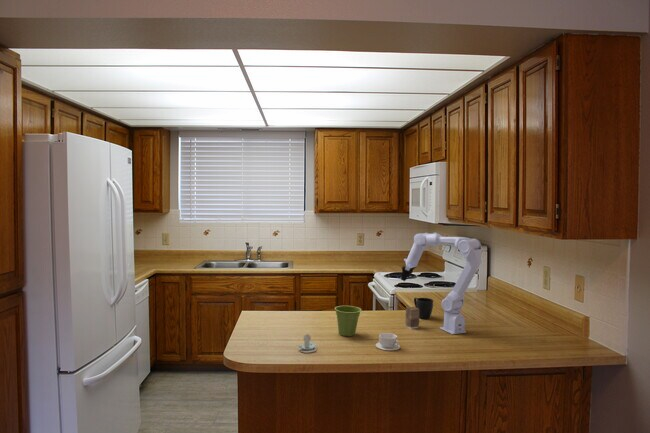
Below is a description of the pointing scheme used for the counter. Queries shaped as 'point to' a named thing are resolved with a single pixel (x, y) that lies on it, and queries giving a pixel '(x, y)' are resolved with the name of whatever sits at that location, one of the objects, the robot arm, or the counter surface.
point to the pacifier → (307, 345)
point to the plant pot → (347, 319)
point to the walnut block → (412, 317)
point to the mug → (424, 307)
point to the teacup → (388, 341)
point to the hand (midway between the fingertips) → (404, 277)
